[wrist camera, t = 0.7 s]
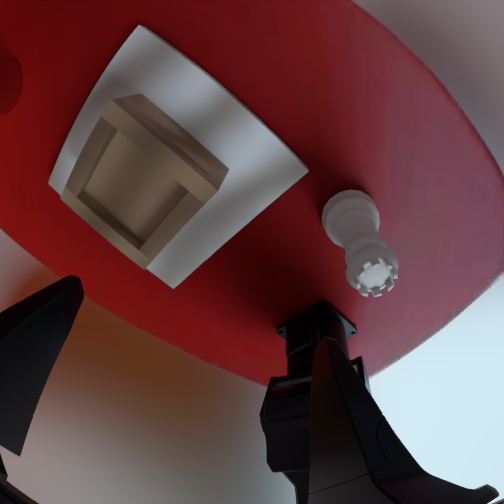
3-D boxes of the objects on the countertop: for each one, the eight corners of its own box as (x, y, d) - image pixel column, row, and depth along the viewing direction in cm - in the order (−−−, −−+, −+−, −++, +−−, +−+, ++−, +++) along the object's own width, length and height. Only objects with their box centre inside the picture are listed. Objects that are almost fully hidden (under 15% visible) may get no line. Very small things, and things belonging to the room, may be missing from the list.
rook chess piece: (348, 175, 19) (383, 230, 12) (385, 211, 20) (426, 275, 14) (308, 216, 21) (321, 285, 15) (347, 247, 22) (369, 319, 16)
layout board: (307, 167, 19) (316, 193, 15) (176, 282, 26) (160, 320, 22) (144, 26, 13) (107, 16, 9) (54, 179, 21) (20, 202, 17)
